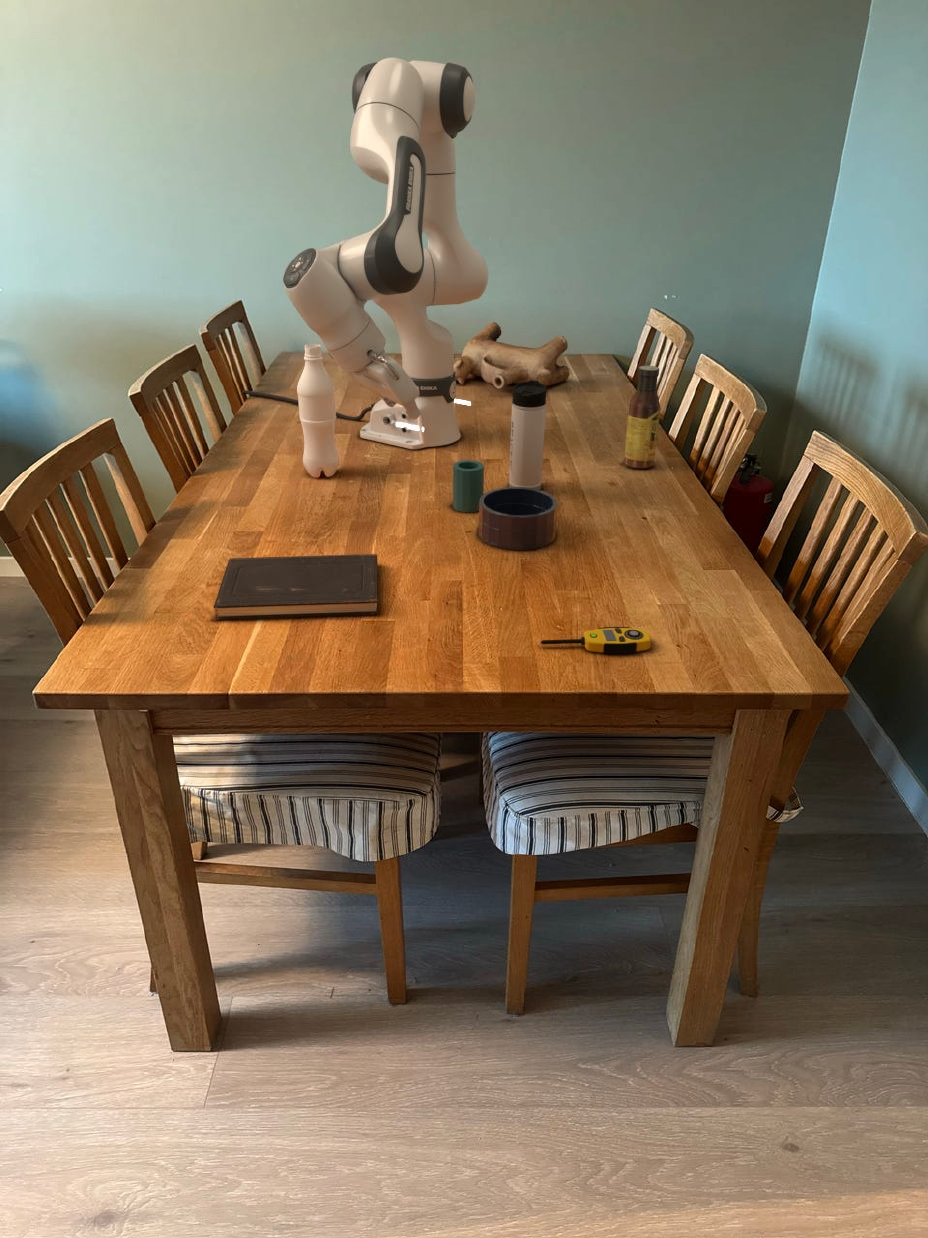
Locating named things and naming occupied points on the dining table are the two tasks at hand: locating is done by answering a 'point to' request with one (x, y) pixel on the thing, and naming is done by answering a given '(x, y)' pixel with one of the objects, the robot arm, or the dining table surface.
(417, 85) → the robot arm
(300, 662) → the dining table surface
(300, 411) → the water bottle
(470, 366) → the ceramic vessel
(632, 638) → the yellow walkie talkie
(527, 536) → the pot
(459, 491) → the teal hollow cylinder
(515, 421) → the travel mug
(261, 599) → the hardcover book
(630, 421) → the sauce bottle
